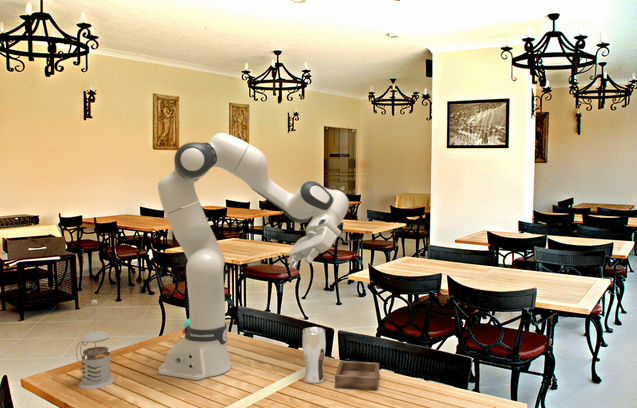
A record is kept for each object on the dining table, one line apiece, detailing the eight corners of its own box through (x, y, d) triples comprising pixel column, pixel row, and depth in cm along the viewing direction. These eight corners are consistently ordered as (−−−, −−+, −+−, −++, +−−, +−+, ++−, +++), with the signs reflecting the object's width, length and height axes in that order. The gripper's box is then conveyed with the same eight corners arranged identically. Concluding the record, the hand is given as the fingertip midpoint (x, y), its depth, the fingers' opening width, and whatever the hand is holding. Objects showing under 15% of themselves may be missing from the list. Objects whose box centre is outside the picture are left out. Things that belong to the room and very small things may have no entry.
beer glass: (323, 385, 145) (323, 334, 145) (300, 383, 147) (299, 333, 146) (327, 375, 152) (327, 327, 152) (305, 374, 154) (305, 326, 153)
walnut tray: (335, 387, 143) (334, 375, 143) (340, 371, 155) (340, 360, 155) (376, 390, 141) (376, 378, 141) (379, 374, 153) (379, 363, 153)
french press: (98, 390, 143) (95, 304, 142) (66, 386, 147) (63, 302, 145) (121, 377, 152) (119, 297, 151) (91, 373, 156) (88, 294, 155)
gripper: (296, 232, 169) (276, 263, 161) (330, 217, 153) (309, 251, 145) (309, 244, 171) (290, 275, 163) (344, 231, 154) (324, 265, 147)
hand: (299, 264), depth 154 cm, fingers open, 8 cm apart
